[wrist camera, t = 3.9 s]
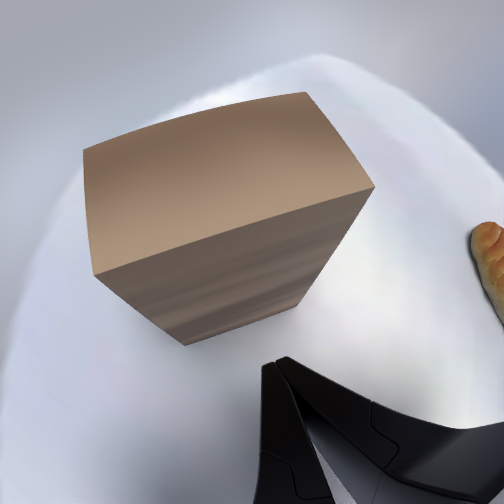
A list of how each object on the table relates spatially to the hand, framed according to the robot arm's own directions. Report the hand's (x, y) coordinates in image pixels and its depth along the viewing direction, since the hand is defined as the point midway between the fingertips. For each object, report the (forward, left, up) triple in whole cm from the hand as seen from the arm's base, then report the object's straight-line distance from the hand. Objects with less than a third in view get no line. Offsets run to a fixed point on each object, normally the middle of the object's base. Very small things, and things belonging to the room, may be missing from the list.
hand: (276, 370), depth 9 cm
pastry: (+4, -21, -9) cm, 23 cm away
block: (+5, +2, -8) cm, 10 cm away
